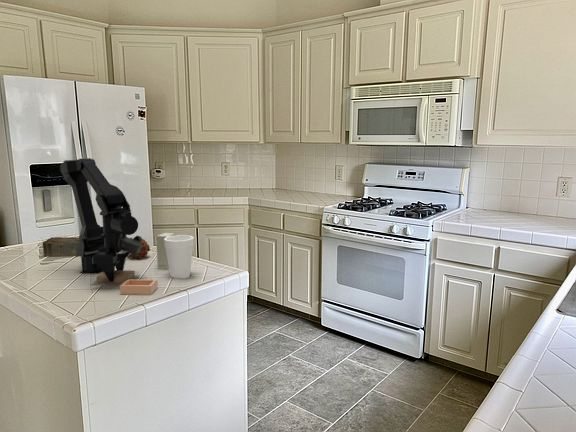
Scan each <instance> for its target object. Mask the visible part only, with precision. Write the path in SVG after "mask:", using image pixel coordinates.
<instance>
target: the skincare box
mask: <svg viewBox="0 0 576 432" xmlns="http://www.w3.org/2000/svg"><path fill="white" fill-rule="evenodd" d="M174 235H176V233H173V232H172V233H171V232H164V233H160V234H158V235H156V236H155V237H156V259H157V260H156V261H157V265H156V266H157V270H163V271H169V266H168V260H167V255H166V249H165V246H164V238H166V237H168V236H174Z"/></svg>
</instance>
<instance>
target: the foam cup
mask: <svg viewBox="0 0 576 432" xmlns="http://www.w3.org/2000/svg"><path fill="white" fill-rule="evenodd" d="M194 241H195V240H194V236H192V235H188V234H178V235H177V234H175V235H174V236H168V237H166V238H164V246H165V249H166V255H167V260H168V266H169V270H168V271H169V275H170V277H171V278H174V279H180V280H184V279H188V278H191V269H192V259H193V258H192V257H193V248H194Z"/></svg>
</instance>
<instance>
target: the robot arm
mask: <svg viewBox="0 0 576 432" xmlns="http://www.w3.org/2000/svg"><path fill="white" fill-rule="evenodd" d="M59 170H60V173H61V174H62V176H63V179H64V181H65V182H66V183H67V184H68V185H69V186H70V187H71V188H72V189H71V190H72V193H73V196H74V202H75V205H76V208H77V212H78V213H77V214H78V217H79V221H80V225H81V230H80V232H79V236H78V237H79V240H80V241H79V243H78V245H77V247H76V253H77V255H78V256H77V257H80V259H81V260H80V261H81V270H82V271H79V274H91V275H92V274H94V275H95V274H96V275H97V274H98V275H99V274H101V273H102V272H104V273H105V275H106V276H107V278H108V279H109V281H110V282H113V281H114V273H115V270H124V268H125V264H126V260H127V258H128V257H129V255H130V254H133V255H136V254H137V253H139V252H140V250H141V247H142V246H143V242H142V239H143V237H142V236H140V235H135V236H134V237H127V236H131V235H133V234H135V233H136V232H137V230H138V228H139V222H138V219H137V218H136V217H134V216H133V215H132V209H131V205H130V204H129V202H128V200H127V198H126V196H125V194H124V192H123V191H122V190H120V188H119V187H117V186H116V185H113V184H111V183H110V182H109V181H108V179H107V178H106V177H105V176H104V174H103V173H102V172H101V170H100V169H99V167H98V166H97V165H96V161H95V159H94V158H89V157H87V158H77V159H67V160H63V162H62V163H61V164H60V167H59ZM88 184H89V185H90V187H91V188H92V189H93V191H94V193H95V201H96V204H97V206H98V208H99V209H100V210H101V211H100V212H99V216H102V226H101V225H99V224H98V221H97V217H96V213H95V210H94V206H93V202H92V198H91V195H90V194H91V193H90V191H89V187H88Z"/></svg>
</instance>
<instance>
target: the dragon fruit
mask: <svg viewBox="0 0 576 432" xmlns="http://www.w3.org/2000/svg"><path fill="white" fill-rule="evenodd" d="M142 242H143V246H142V247H141V250H140V252H139V253H137V254H136V255H133V254H130V255H129V256H128V257H129V258H131V259H143V257H145V256H147V255H148V253H149V252H150V251H151V248H150V245H149V244H148V241H146V240H145V239H144V238H142Z"/></svg>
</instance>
